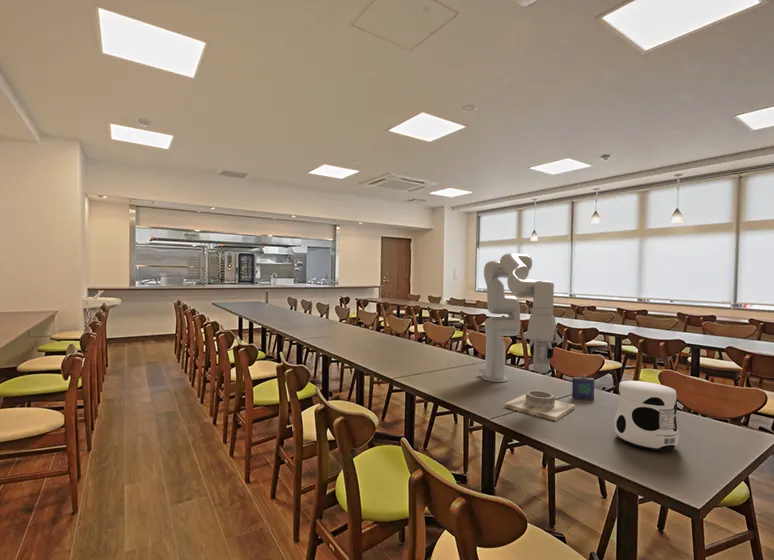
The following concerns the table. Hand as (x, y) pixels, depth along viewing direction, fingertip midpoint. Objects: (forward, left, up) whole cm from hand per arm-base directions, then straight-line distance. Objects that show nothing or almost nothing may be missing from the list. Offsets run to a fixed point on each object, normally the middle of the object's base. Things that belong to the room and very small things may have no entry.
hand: (541, 356), depth 156 cm
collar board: (0, 0, -21) cm, 21 cm away
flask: (+8, +27, -21) cm, 35 cm away
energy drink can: (0, 0, -6) cm, 6 cm away
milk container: (+37, -8, -21) cm, 43 cm away
